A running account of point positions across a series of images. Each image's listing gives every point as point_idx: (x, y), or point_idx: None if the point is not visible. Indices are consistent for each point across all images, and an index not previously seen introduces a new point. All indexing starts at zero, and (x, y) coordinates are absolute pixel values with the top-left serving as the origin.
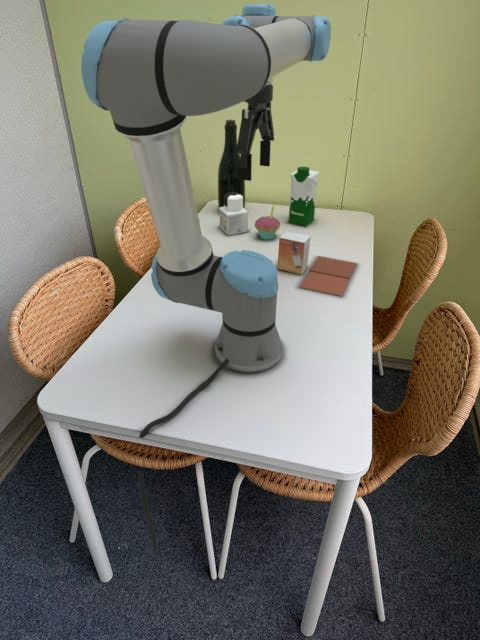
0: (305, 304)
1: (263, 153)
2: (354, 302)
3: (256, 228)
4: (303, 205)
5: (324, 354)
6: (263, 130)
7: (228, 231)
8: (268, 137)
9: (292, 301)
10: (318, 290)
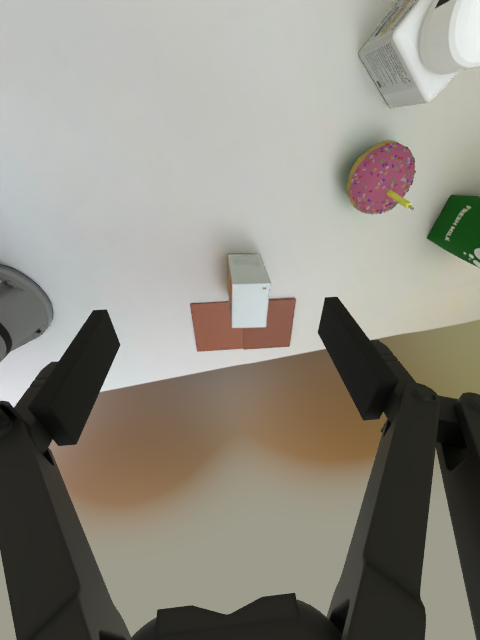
0: (153, 322)
1: (344, 347)
2: (192, 363)
3: (358, 158)
4: (464, 246)
5: None
6: (373, 485)
7: (364, 51)
8: (383, 436)
9: (149, 307)
10: (194, 327)
